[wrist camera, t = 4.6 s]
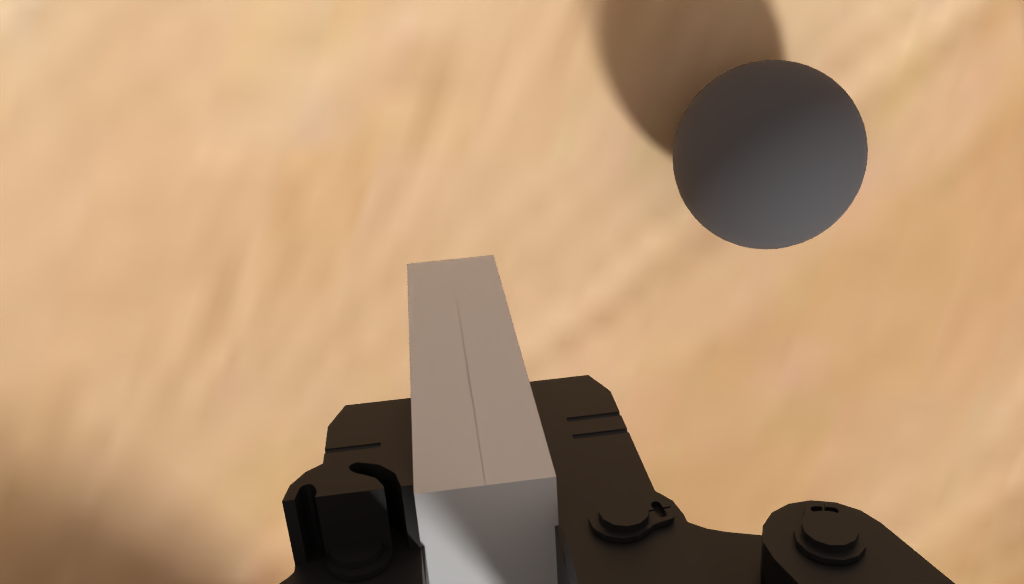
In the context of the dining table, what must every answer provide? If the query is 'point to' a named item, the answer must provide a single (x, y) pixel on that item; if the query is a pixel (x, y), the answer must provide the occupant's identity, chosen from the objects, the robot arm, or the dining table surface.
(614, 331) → the dining table surface
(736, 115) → the dark gray ball
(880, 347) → the dining table surface
